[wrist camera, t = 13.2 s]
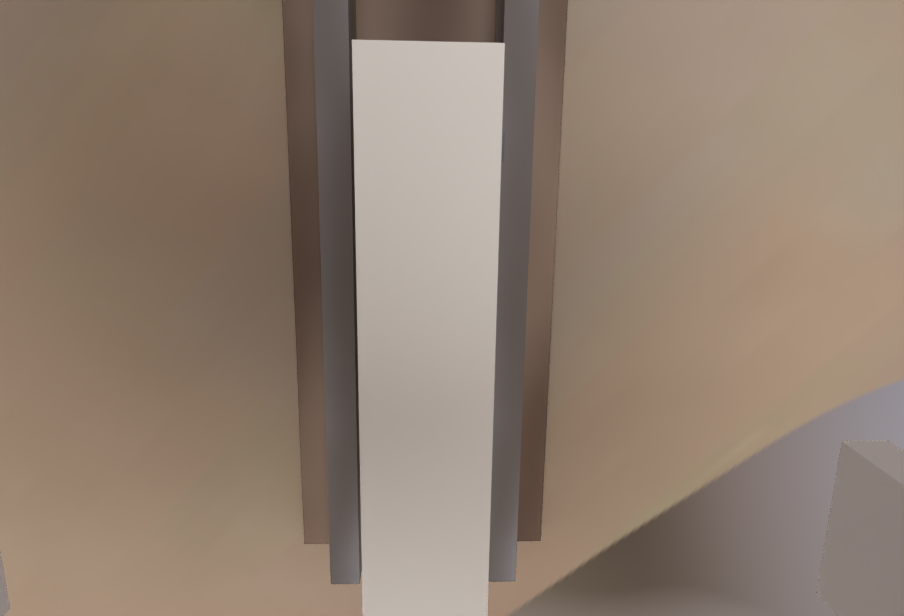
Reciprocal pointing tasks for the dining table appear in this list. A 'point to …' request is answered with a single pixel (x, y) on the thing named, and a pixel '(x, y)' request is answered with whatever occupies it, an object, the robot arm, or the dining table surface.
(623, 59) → the dining table surface
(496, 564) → the track plinth
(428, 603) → the door panel
